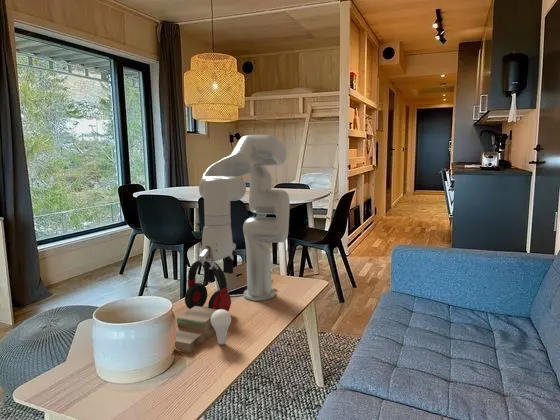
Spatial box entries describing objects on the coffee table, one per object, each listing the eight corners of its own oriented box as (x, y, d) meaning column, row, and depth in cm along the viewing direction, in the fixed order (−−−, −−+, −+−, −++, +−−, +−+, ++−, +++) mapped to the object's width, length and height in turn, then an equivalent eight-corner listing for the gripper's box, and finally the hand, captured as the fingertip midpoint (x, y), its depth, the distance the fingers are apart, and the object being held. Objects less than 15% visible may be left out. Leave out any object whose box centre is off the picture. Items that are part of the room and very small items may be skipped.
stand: (195, 322, 139) (194, 305, 138) (221, 327, 135) (220, 310, 134) (162, 347, 122) (160, 328, 121) (190, 353, 119) (189, 334, 118)
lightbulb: (215, 351, 120) (214, 316, 118) (209, 342, 125) (207, 308, 123) (235, 346, 122) (233, 311, 120) (227, 337, 128) (226, 304, 126)
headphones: (235, 314, 145) (233, 260, 141) (215, 324, 137) (213, 267, 134) (201, 303, 155) (199, 252, 152) (181, 312, 147) (178, 259, 144)
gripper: (223, 215, 128) (224, 268, 130) (188, 224, 113) (190, 283, 115) (244, 217, 125) (245, 271, 127) (210, 226, 110) (212, 287, 112)
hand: (219, 277), depth 121 cm, fingers open, 9 cm apart
